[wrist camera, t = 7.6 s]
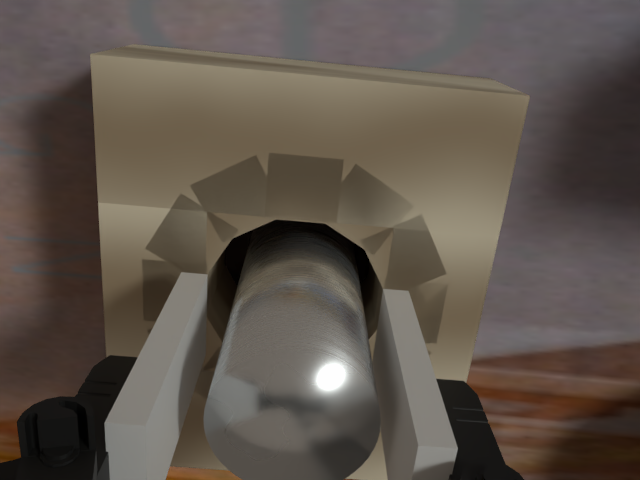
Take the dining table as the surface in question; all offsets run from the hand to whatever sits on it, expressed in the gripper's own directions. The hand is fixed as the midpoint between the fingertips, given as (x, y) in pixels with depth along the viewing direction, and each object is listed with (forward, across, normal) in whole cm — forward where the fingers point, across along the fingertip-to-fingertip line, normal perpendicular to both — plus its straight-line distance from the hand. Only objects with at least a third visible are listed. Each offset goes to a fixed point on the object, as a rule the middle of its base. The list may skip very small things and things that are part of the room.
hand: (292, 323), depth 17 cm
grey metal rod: (+5, 0, 0) cm, 5 cm away
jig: (+5, 0, 0) cm, 5 cm away
